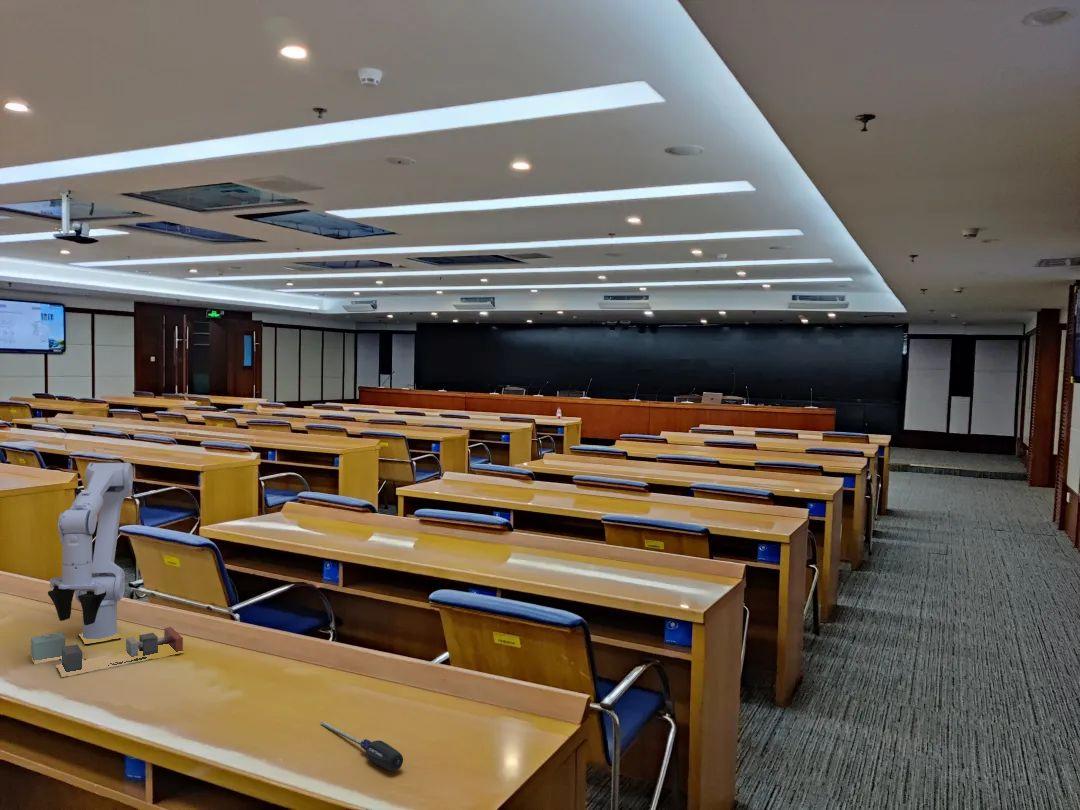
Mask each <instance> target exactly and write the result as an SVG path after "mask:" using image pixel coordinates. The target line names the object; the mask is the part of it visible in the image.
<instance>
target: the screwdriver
mask: <svg viewBox="0 0 1080 810" xmlns="http://www.w3.org/2000/svg"><path fill="white" fill-rule="evenodd" d="M320 725H322V727H324V728H327V729H328V730H329V731H332V732H334V733H336V734H338V735H340V736H342V737H344V738H346V739H348V740H350V741H351V742H353V743H355V744H357V745H359V746H360V747H361V748H362V749H363V750H364V751H366V752H365V753H366V757H367V758H368V760H369V761H370V762H371V763H372V764H373V765H376V766H378V767H381V768H382V769H386V770H389V771H393V772H394V771H398V770H399V769H400V768H402V765H403V762H404V757H403V755H402V753H401V752H399V751H398V750H397V749H396V748H394V747H392V746H391V745H389V744H388V743H386V742H385V741H383V740H373V741H371V740H369V739H367V738H366V739H363V740H360V739H358V738H356V737H355V736H352V735H350V734H349V733H346V732H345V731H343V730H340V729H338V728H336V727H334V726H333V725H331V724H328V723H326V722H324V721H320Z"/></svg>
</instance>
